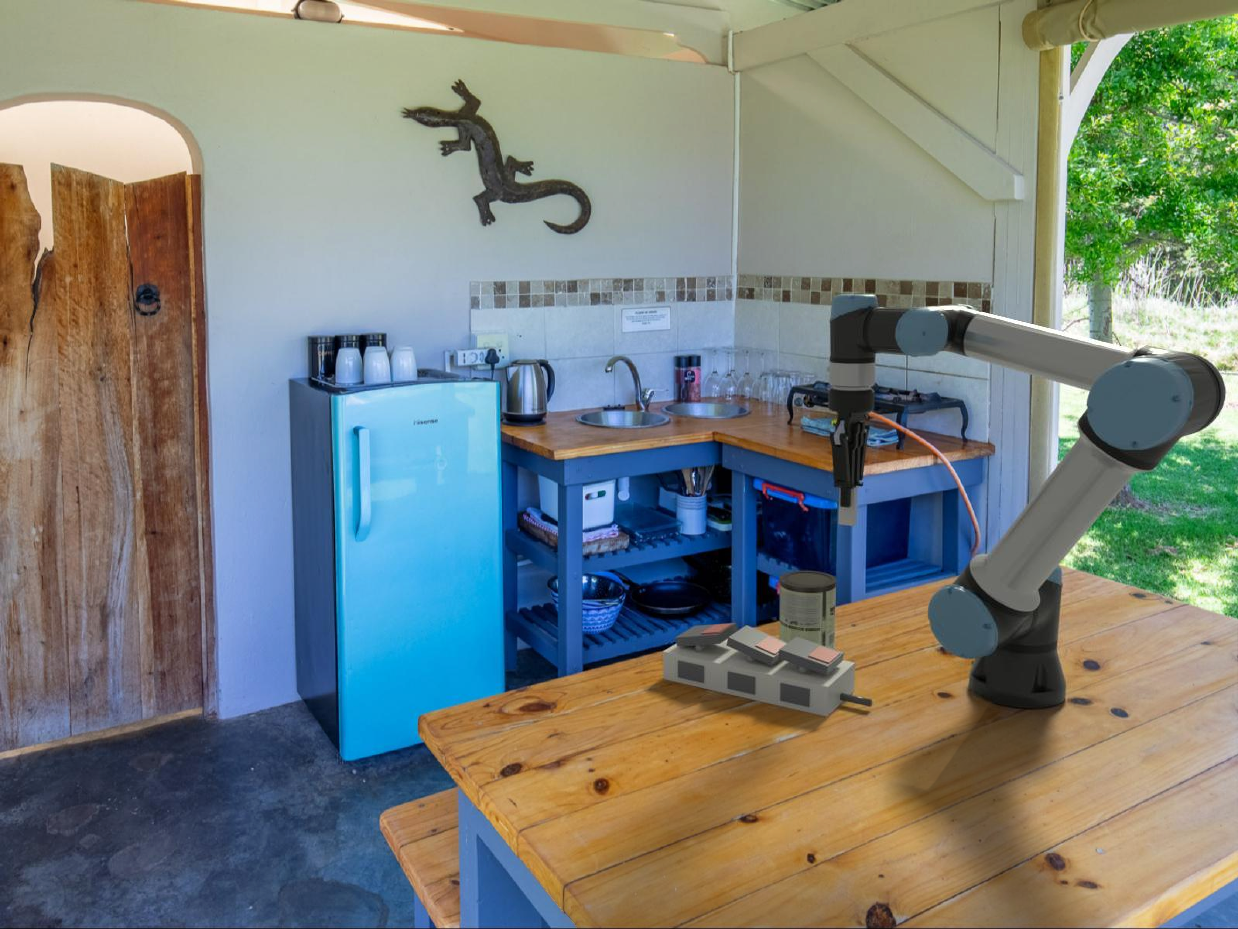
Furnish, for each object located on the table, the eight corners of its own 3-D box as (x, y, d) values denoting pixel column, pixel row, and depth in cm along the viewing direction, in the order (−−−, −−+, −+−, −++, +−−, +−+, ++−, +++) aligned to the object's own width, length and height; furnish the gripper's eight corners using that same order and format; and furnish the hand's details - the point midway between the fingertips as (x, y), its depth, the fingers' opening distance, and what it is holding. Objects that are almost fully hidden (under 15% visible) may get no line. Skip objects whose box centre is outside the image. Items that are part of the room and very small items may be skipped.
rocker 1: (738, 631, 184) (736, 621, 184) (719, 644, 178) (717, 633, 178) (696, 634, 189) (694, 624, 189) (677, 646, 183) (675, 636, 183)
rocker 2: (788, 652, 179) (791, 643, 179) (771, 666, 173) (773, 656, 173) (744, 633, 183) (746, 624, 183) (726, 645, 178) (728, 636, 177)
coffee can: (776, 641, 200) (778, 569, 198) (831, 642, 199) (833, 570, 197) (779, 661, 190) (780, 586, 188) (837, 662, 189) (839, 587, 187)
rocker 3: (842, 661, 174) (844, 651, 174) (826, 675, 168) (828, 665, 168) (795, 645, 178) (796, 635, 178) (777, 658, 173) (779, 648, 172)
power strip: (883, 697, 174) (884, 660, 173) (857, 724, 164) (858, 685, 163) (696, 657, 193) (696, 624, 191) (662, 679, 182) (662, 644, 181)
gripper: (844, 382, 184) (840, 514, 188) (815, 390, 173) (812, 529, 178) (886, 384, 180) (881, 519, 184) (859, 392, 169) (854, 535, 174)
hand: (847, 524), depth 181 cm, fingers closed
